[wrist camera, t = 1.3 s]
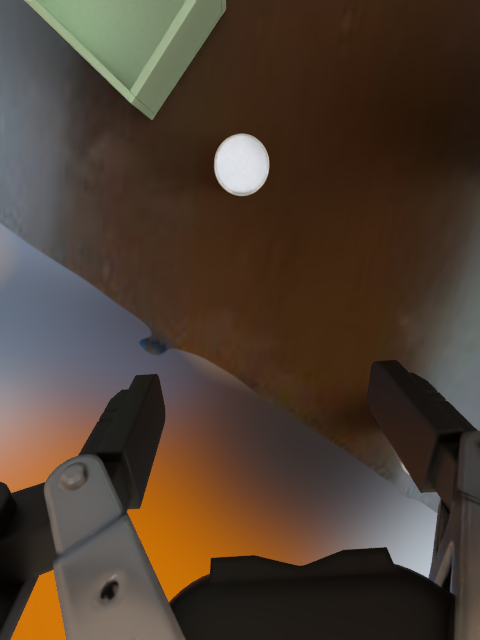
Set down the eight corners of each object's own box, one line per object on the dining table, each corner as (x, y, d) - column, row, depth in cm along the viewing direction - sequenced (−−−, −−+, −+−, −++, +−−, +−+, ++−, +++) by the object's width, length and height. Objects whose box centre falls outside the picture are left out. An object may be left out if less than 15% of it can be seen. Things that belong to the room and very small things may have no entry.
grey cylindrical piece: (238, 134, 30) (240, 116, 22) (270, 168, 31) (282, 163, 24) (209, 171, 31) (201, 167, 24) (241, 203, 33) (243, 208, 25)
